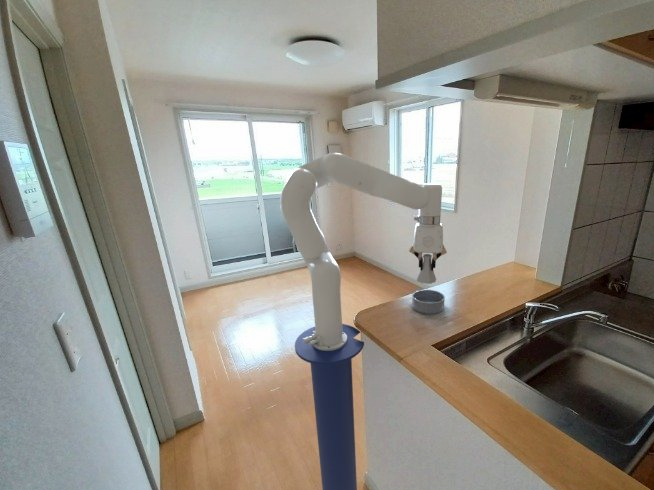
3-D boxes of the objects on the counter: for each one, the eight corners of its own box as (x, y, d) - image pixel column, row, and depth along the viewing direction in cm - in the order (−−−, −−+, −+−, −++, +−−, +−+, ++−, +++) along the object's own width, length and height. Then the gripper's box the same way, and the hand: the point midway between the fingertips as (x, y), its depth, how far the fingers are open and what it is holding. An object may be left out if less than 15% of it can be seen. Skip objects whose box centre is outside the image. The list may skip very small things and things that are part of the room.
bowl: (427, 317, 124) (428, 306, 122) (405, 305, 134) (405, 294, 132) (450, 308, 131) (451, 297, 129) (427, 297, 141) (428, 287, 140)
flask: (413, 281, 116) (413, 256, 112) (421, 275, 121) (423, 251, 118) (431, 285, 112) (432, 259, 108) (439, 279, 117) (440, 254, 114)
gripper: (404, 221, 107) (403, 271, 113) (454, 222, 103) (450, 274, 110) (406, 217, 114) (405, 265, 120) (453, 218, 110) (449, 267, 117)
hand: (426, 269), depth 115 cm, fingers closed on flask, 3 cm apart
